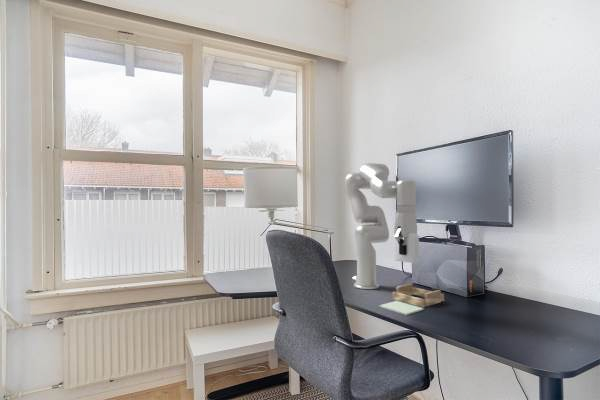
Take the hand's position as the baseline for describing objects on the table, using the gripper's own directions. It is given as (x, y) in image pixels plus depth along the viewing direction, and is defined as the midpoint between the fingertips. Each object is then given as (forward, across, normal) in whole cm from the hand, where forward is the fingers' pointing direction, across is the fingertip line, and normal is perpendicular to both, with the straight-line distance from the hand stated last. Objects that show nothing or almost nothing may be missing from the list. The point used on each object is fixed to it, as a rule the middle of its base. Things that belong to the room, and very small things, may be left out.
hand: (406, 253), depth 138 cm
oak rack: (+21, -11, -2) cm, 24 cm away
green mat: (+22, +5, 0) cm, 22 cm away
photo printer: (+4, 0, 0) cm, 4 cm away
